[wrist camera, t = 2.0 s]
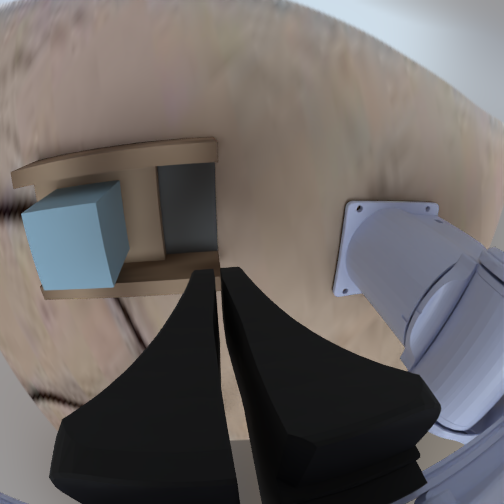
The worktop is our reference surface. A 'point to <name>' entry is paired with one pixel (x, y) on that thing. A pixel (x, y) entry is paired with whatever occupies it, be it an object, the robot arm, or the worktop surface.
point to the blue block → (78, 236)
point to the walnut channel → (146, 209)
